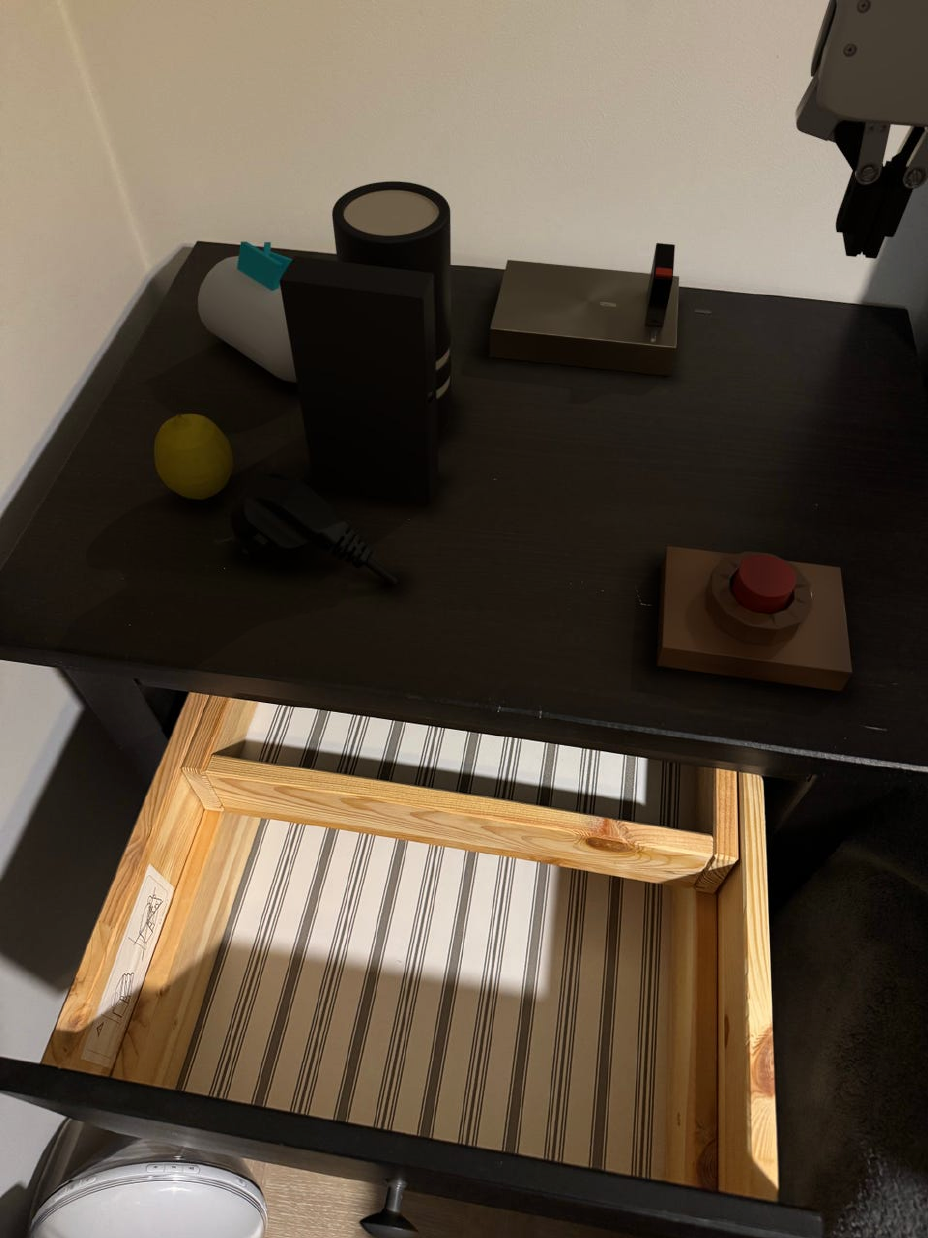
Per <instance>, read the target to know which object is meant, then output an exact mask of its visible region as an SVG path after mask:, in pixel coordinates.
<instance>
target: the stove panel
mask: <svg viewBox="0 0 928 1238" xmlns="http://www.w3.org/2000/svg"><path fill="white" fill-rule="evenodd" d="M650 275H651V273H648V272H637V271H628V270H627V271H626V270H617V269H606V268H598V267H597V268H596V267H587V266H586V267H585V266H576V265H567V264H554V263H546V262H535V261H534V262H533V261H526V260H525V261H523V260H516V259H515V260H513V259H507V260H506V265H505V269H504V272H503V276H502V281H501V284H500V288H499V291H498V292H499V293H498V296H497V300H496V304H495V307H494V312H493V316H492V320H491V323H490V327H489V349H488V350H489V353H488V356H489V358H496V359H507V360H515V361H525V362H533V363H544V364H552V365H561V366H570V367H582V368H589V369H598V370H600V369H601V370H607V371H608V370H609V371H617V372H625V373H637V374H646V375H654V376H663V377H670V376H671V373H672V370H673V365H674V360H675V356H676V351H677V340H678V319H679V315H678V313H679V292H680V290H679V289H680V276H679V275H673V282H672V286H671V291H670V296H669V301H668V306H667V310H666V315H665V320H664V325H663V326H655V325H646V324H645V316H646V305H647V294H648V286H649V281H650ZM694 314H699V315H701V314H702V315H711V314H712V310H706V309H697V308H695V309H694Z"/></svg>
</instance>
